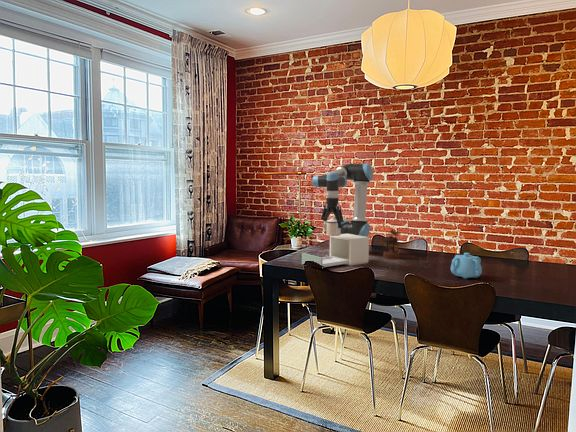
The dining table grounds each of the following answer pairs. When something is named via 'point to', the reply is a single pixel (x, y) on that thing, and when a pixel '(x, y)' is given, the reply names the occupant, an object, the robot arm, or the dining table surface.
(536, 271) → the dining table surface
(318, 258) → the tray
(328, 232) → the teacup with lid
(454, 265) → the decorative pot
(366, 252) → the housing
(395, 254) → the bird nest figurine
